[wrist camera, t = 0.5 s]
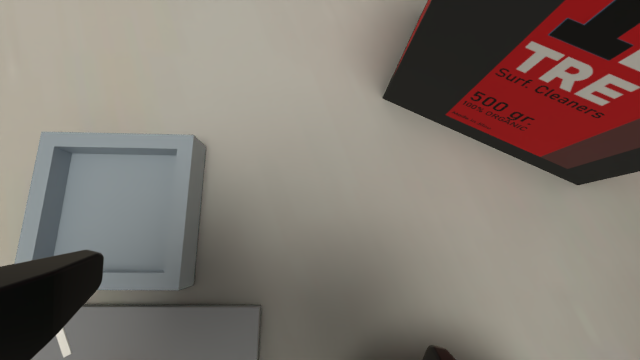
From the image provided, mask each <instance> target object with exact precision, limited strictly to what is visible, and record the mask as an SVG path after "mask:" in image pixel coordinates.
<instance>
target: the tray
mask: <svg viewBox="0 0 640 360" xmlns="http://www.w3.org/2000/svg"><path fill="white" fill-rule="evenodd" d="M205 153H206V146H205V145H204V144H203V143H201V142H200V141H199V140H198V139H197V138H196V137H195V136H194V135H173V134H126V133H79V132H41V137H40V142H39V147H38V152H37V156H36V161H35V166H34V171H33V176H32V181H31V186H30V190H29V195H28V200H27V205H26V210H25V215H24V220H23V225H22V229H21V234H20V239H19V244H18V249H17V254H16V259H15V264H17V263H22V262H26V261H31V260H36V259H41V258H46V257H51V256H56V255H61V254H66V253H71V252H76V251H81V250H92V251H95V252H99V253H101V254H102V255H103V257H104V264H103V278H102V282H101V285H100V286H99V288H98V289H97V290H181V289H184V288H187V287H190V286H193V285H194V276H195V265H196V254H197V243H198V231H199V220H200V209H201V198H202V186H203V175H204V164H205Z"/></svg>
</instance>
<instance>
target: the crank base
mask: <svg viewBox="0 0 640 360" xmlns="http://www.w3.org/2000/svg"><path fill="white" fill-rule="evenodd" d="M260 320H261V305H83V306H82V307H81V308H80V309H79V311H78V312H77V313H76V314H75V315H74V316H73V317H72V318H71V319H70V321H69V322H68V323H67V324H66V325H65V326H64V327H63V328H62V329H61V330H60V332H59V333H58V334H57V335H56V336H55V337H54V338H53V339H52V340H51V341H50V342H49V343H48V344H47V345H46V346H45V347H44V348H43V349H42V350H41V351H39V352H38V353H37V354H36V355H35V356H34V357H33V358H32V359H31V360H259V342H260Z"/></svg>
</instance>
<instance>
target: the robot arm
mask: <svg viewBox="0 0 640 360" xmlns="http://www.w3.org/2000/svg"><path fill="white" fill-rule="evenodd" d="M103 264H104V257H103V255H102V254H101V253H99V252H95V251H92V250H81V251H76V252H71V253H66V254H61V255H56V256H51V257H46V258H41V259H36V260H31V261H26V262H22V263H17V264H12V265H7V266H2V267H0V360H31V359H32V358H33V357H34V356H35V355H36V354H37V353H38V352H39V351H41V350H42V349H43V348H44V347H45V346H46V345H47V344H48V343H49V342H50V341H51V340H52V339H53V338H54V337H55V336H56V335H57V334H58V333H59V332H60V330H61V329H62V328H63V327H64V326H65V325H66V324H67V323H68V322H69V321H70V319H71V318H72V317H73V316H74V315H75V314H76V313H77V312H78V311H79V309H80V308H81V307H82V306H83V305H84V304H85V303H86V302H87V301H88V299H89V298H90V297H91V296H92V295H93V294H94V293H95V292H96V291H97V289H98V288H99V286H100V285H101V282H102V278H103ZM423 360H456V359H455V358H454V357H453V356H452V355H451V354H450V353H449V352H448V351H447V350H446V349H444V348H441V347H437V346H434V345H431V346H429V347H428V348H427V350H426V353H425V355H424V358H423Z"/></svg>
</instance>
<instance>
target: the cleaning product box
mask: <svg viewBox="0 0 640 360" xmlns="http://www.w3.org/2000/svg"><path fill="white" fill-rule="evenodd" d="M383 99H385V100H387V101H390V102H392V103H394V104H396V105H399V106H401V107H403V108H405V109H408V110H410V111H412V112H414V113H417V114H419V115H421V116H423V117H426V118H428V119H430V120H432V121H435V122H437V123H439V124H441V125H444V126H446V127H448V128H450V129H453V130H455V131H457V132H459V133H462V134H464V135H466V136H468V137H471V138H473V139H475V140H477V141H480V142H482V143H484V144H486V145H489V146H491V147H493V148H495V149H498V150H500V151H502V152H504V153H507V154H509V155H511V156H513V157H516V158H518V159H520V160H522V161H525V162H527V163H529V164H531V165H534V166H536V167H538V168H540V169H543V170H545V171H547V172H549V173H552V174H554V175H556V176H558V177H560V178H563V179H565V180H567V181H569V182H572V183H574V184H576V185H581V184H585V183H590V182H594V181H598V180H603V179H607V178H612V177H616V176H620V175H625V174H629V173H634V172H638V171H640V0H428V2H427V4H426V6H425V8H424V10H423V12H422V14H421V16H420V18H419V20H418V23H417V25H416V27H415V29H414V31H413V33H412V36H411V38H410V40H409V42H408V44H407V46H406V49H405V51H404V53H403V55H402V57H401V59H400V61H399V64H398V66H397V68H396V70H395V72H394V74H393V77H392V79H391V81H390V83H389V85H388V87H387V90H386V92H385V94H384V96H383Z"/></svg>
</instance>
